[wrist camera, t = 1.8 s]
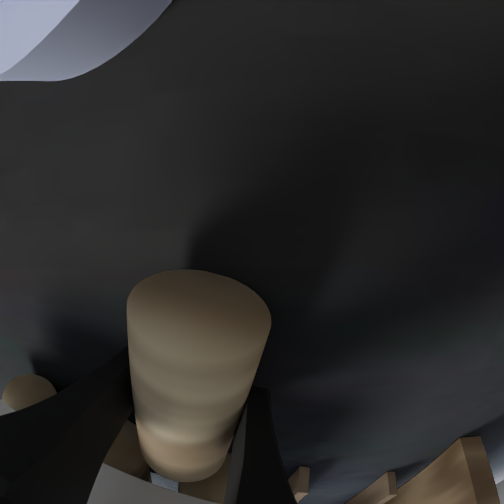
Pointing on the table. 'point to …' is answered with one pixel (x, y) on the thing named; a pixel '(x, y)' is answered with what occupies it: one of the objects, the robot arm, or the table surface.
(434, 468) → the block
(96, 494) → the slab
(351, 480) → the table surface
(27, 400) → the roller track
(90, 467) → the robot arm
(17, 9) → the wedge on round base
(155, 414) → the roller
